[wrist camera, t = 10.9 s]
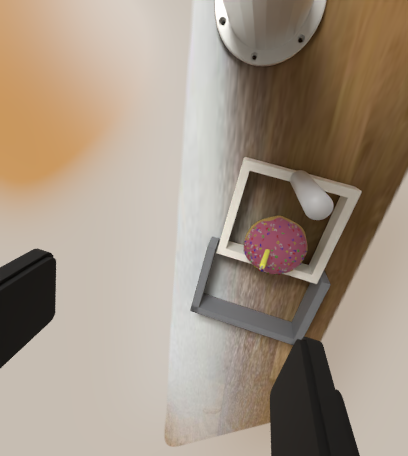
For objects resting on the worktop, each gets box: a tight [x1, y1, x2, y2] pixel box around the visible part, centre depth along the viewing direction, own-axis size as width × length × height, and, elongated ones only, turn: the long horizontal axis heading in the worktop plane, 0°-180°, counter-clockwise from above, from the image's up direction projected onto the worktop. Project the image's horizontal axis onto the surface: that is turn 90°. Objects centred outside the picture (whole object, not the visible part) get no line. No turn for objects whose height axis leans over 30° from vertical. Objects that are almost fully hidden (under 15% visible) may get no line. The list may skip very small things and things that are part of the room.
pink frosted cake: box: [243, 216, 307, 275], centre depth 36 cm, size 9×8×12 cm
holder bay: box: [190, 237, 331, 345], centre depth 44 cm, size 12×18×4 cm
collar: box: [217, 157, 362, 284], centre depth 33 cm, size 15×15×16 cm
